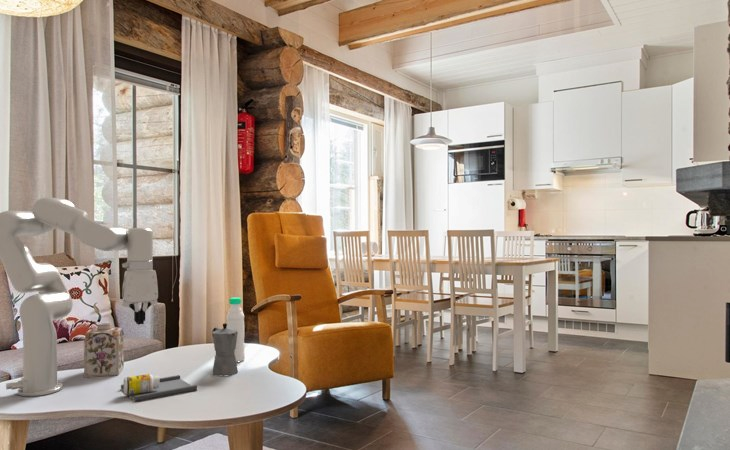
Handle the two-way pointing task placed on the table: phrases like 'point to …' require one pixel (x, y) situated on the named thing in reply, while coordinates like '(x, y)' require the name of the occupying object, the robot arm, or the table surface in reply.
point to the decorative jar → (103, 351)
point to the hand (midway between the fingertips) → (139, 323)
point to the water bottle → (237, 326)
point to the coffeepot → (224, 350)
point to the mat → (165, 389)
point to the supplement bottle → (140, 384)
